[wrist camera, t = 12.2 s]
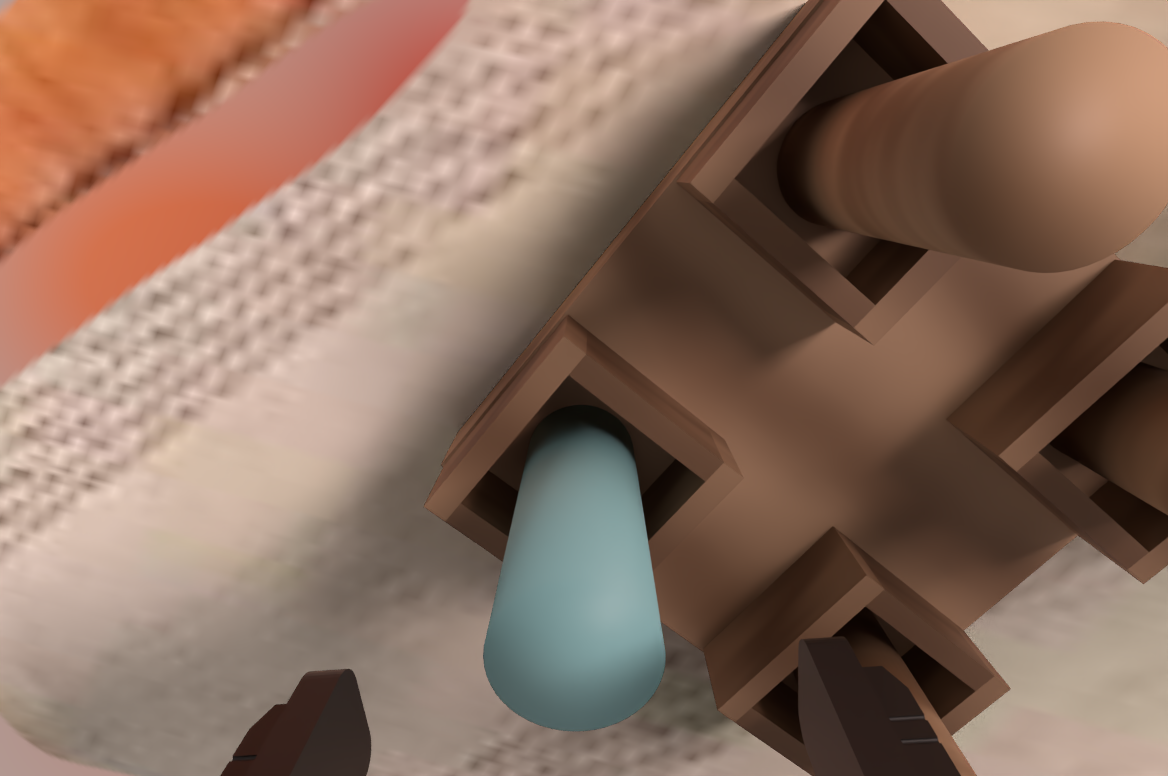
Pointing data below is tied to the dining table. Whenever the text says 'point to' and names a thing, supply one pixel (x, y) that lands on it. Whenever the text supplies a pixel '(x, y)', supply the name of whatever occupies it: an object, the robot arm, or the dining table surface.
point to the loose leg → (576, 582)
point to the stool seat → (873, 352)
